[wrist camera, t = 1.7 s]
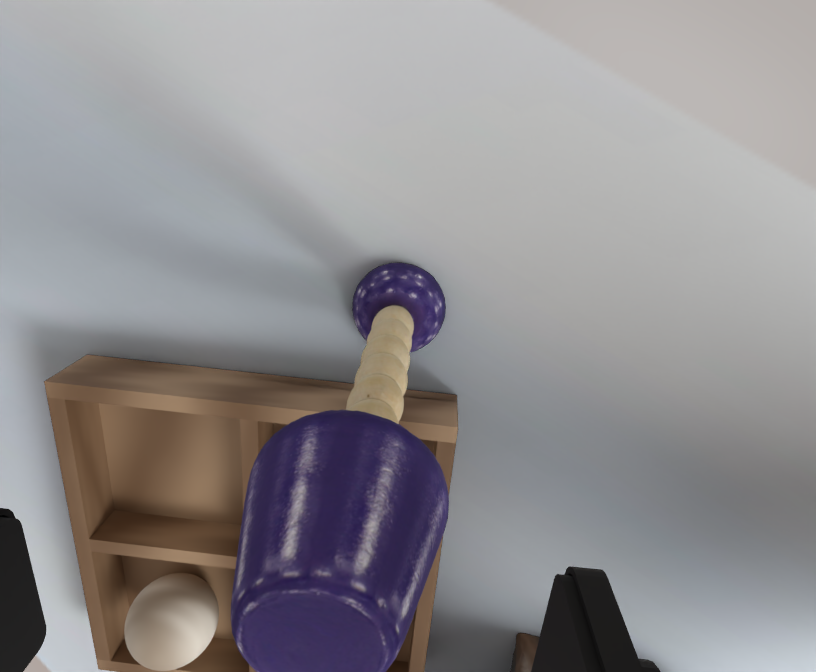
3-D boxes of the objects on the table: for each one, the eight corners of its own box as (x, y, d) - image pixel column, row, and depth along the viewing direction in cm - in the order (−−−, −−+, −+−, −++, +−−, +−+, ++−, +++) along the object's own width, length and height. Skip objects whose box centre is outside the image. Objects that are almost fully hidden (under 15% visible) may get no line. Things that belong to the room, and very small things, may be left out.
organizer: (456, 395, 26) (458, 427, 23) (421, 660, 32) (418, 710, 30) (87, 354, 26) (44, 381, 23) (127, 623, 33) (98, 669, 30)
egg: (230, 559, 29) (193, 632, 25) (233, 619, 31) (199, 697, 27) (149, 549, 30) (99, 620, 25) (157, 609, 31) (110, 686, 27)
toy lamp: (463, 342, 25) (490, 706, 9) (372, 374, 25) (256, 755, 10) (424, 247, 23) (375, 489, 8) (329, 285, 24) (114, 569, 8)
